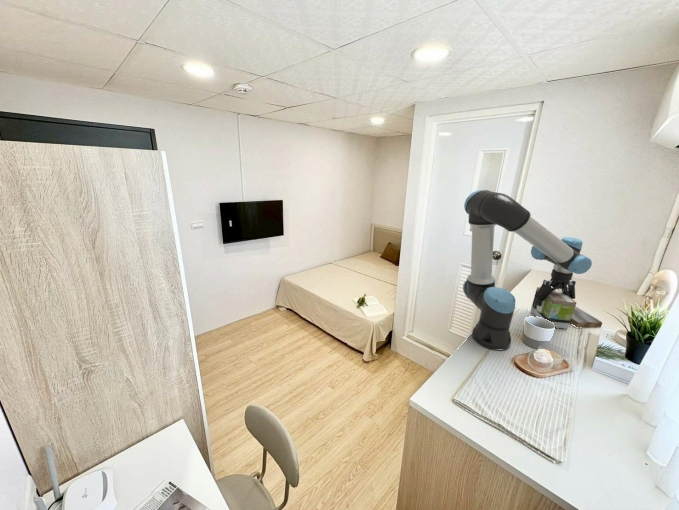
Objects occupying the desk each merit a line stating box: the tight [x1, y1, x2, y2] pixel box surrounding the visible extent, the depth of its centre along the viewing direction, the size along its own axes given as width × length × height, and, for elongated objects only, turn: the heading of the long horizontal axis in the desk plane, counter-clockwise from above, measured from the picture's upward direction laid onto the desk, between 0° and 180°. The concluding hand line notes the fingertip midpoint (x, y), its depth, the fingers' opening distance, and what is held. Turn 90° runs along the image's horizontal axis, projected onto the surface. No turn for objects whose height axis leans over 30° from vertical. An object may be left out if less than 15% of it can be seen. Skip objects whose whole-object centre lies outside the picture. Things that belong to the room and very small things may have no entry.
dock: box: [570, 305, 603, 329], centre depth 131 cm, size 12×17×3 cm
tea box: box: [530, 286, 577, 330], centre depth 128 cm, size 15×10×15 cm
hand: (550, 311), depth 129 cm, fingers closed on tea box, 11 cm apart
